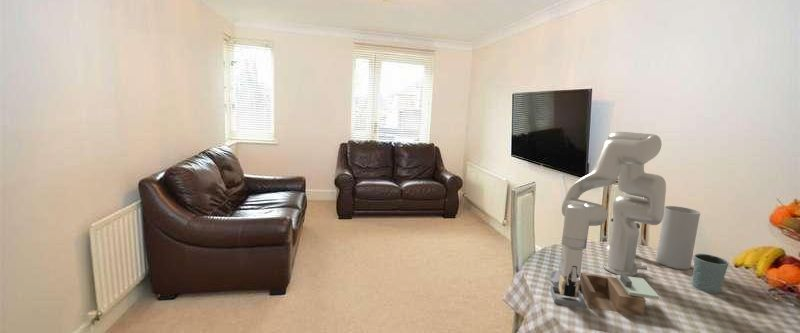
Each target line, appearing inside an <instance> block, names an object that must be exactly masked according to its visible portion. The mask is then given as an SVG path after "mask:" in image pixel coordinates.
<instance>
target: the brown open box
mask: <svg viewBox="0 0 800 333" xmlns="http://www.w3.org/2000/svg"><path fill="white" fill-rule="evenodd" d="M579 281H580V284H581V285H580V286H581V287H580V290H579V291H580V293H581V295H582V297H583V299H584V301H585V304H586V305H587V307H588V308H590V309H595V310H596V309H597V310H603V311H610V312H616V313H621V314H627V315H634V316H639V317H643V316H644V315H645V314H644V313H645V307H646V301H647V300H646V298H645V297H639V296H632V295H629V294H628V293H627V291H626V290H625V289H624V287H623V286H622V285H621V283H620V282H619V280H618V279H617V278H616V276H607V275H599V274H592V273H585V272H580V277H579Z"/></svg>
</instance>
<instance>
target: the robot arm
mask: <svg viewBox="0 0 800 333" xmlns="http://www.w3.org/2000/svg"><path fill="white" fill-rule="evenodd" d="M662 145H663V144H662V140H661V137H660V136H658V135H656V134H655V133H642V132H641V133H640V132H631V131H629V132H628V131H616V132H615V131H614V132H611V133H610V134H609V135H608V138H607V140H605V141H604V142H603V144H602V145H601V148H600V149H599V150H600V151H598V152H599V153H598V155H597V157H596V159H595V162H594V164H593V166H592V168H591V171H590V172H589V173H588V174H586V175H584V176H582V177H581V178H579V179H578V180H576V181H575V182H574V183H573V184H571V186H570V187H569V189H568V190H567V192H566V195H565V197H564V198H563V199H564V200H563V203H562V204H561V214H562V216H563V217H564V221H563V228H562V236H561V242H560V243H561V245H562V248H561V254H560V259H559V268H560V271H562V274H563V275H564V276H565V277H566V276H567V282H566V284H565V290H564V295H565V297H569V298H575V297H574V296H575V289H576V282H577V279H580V274H581V273H582V272H581V271H582V262H583V251H584V250H585V249H586V248H587V243H588V236H589V227H598V226H601V225H603V224H604V223H605V222H607V219H608V214H609V212H608V210H607V208H606V207H605V206H604V205H602V204H600V203H595V202H593V201H588V200H583V199H579V198H580V197H581V196H582V195H583V194H584V193H586V192H588V191H590V190H594V189H599V188H604V187H608V186H609V187H610V186H613V185H615V184H616V182H617V185H618V186H617V188H618V190H619V191H620V192H621V193H623V194H626V195H618V196H617V197H615V198H614V200H613V201H612V218H613V222H612V223H613V226H612V233H611V232H610V234H611V235H610V240H609V246H610V247H609V250H608V255H607V261H604V262H603V263H602V268H603V269H604V270H605V271H607V272H610V273H613V274H615V275H621V274H626V275H627V276H629V277H635V276H637V275H638V270H642V271H647V270H648V265H645V264H642V263H640V262H636V261H635V260H636V255H637V248H638V241H639V240H638V239H639V235H640V234H639V233H640V231H639V229H638V227H637V225H636V223H641V224H646V225H650V226H657V225H659V224H662V219H663V215H664V207H665V206H666V205H665V203H666V196H667V195H666V193H667V184H666V180H665V178H664V177H663V176H661V175H658V174H654V173H647V172H645V164H647V163H649V162H650V161H651V160H653V159H654V158H656V157H657V156H658V155H659V153H660V152H661V149H662ZM617 180H618V181H617ZM569 278H572V279H571V280H569ZM564 295H563V296H564Z"/></svg>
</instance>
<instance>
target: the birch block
mask: <svg viewBox="0 0 800 333" xmlns="http://www.w3.org/2000/svg"><path fill="white" fill-rule="evenodd" d="M571 279H572V278H569V280H571ZM566 282H567V276H566V277H565V276H564V275H560V279H559V287H558V289H559V291H560V292H559V294H560V296H565V295H564V290H565V284H566ZM578 285H579V283H578V281H577V282H576V289H575V296H574V297H573V298H577V297H578V295H577V292H578ZM565 297H566V296H565Z"/></svg>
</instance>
